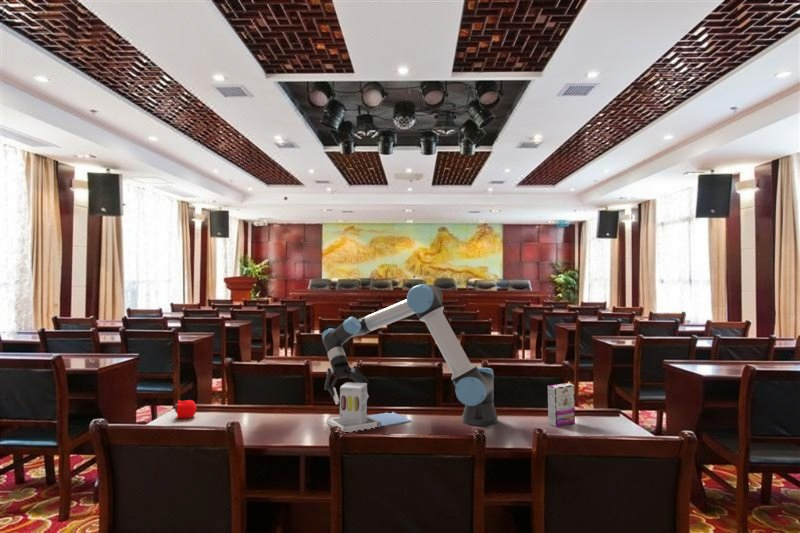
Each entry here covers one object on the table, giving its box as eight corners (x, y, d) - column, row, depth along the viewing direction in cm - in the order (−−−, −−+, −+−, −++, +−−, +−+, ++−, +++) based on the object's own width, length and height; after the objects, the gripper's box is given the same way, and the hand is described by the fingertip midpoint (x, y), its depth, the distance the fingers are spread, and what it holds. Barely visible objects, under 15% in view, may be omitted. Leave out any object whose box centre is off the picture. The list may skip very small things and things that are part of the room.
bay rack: (411, 421, 206) (411, 417, 206) (342, 433, 189) (342, 428, 189) (392, 413, 219) (392, 408, 219) (326, 423, 202) (326, 418, 203)
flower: (196, 407, 207) (175, 408, 205) (195, 422, 210) (175, 423, 207) (197, 396, 214) (177, 397, 211) (196, 410, 217) (177, 411, 214)
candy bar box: (566, 420, 208) (566, 382, 209) (575, 423, 204) (575, 385, 205) (547, 424, 203) (547, 385, 204) (556, 427, 199) (555, 387, 199)
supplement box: (338, 428, 196) (338, 386, 196) (345, 420, 205) (345, 381, 205) (361, 429, 194) (361, 387, 195) (367, 422, 204) (367, 382, 204)
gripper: (360, 362, 222) (375, 402, 209) (309, 367, 209) (322, 409, 196) (365, 352, 218) (381, 392, 205) (313, 356, 205) (327, 399, 192)
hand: (352, 400), depth 200 cm, fingers open, 13 cm apart
